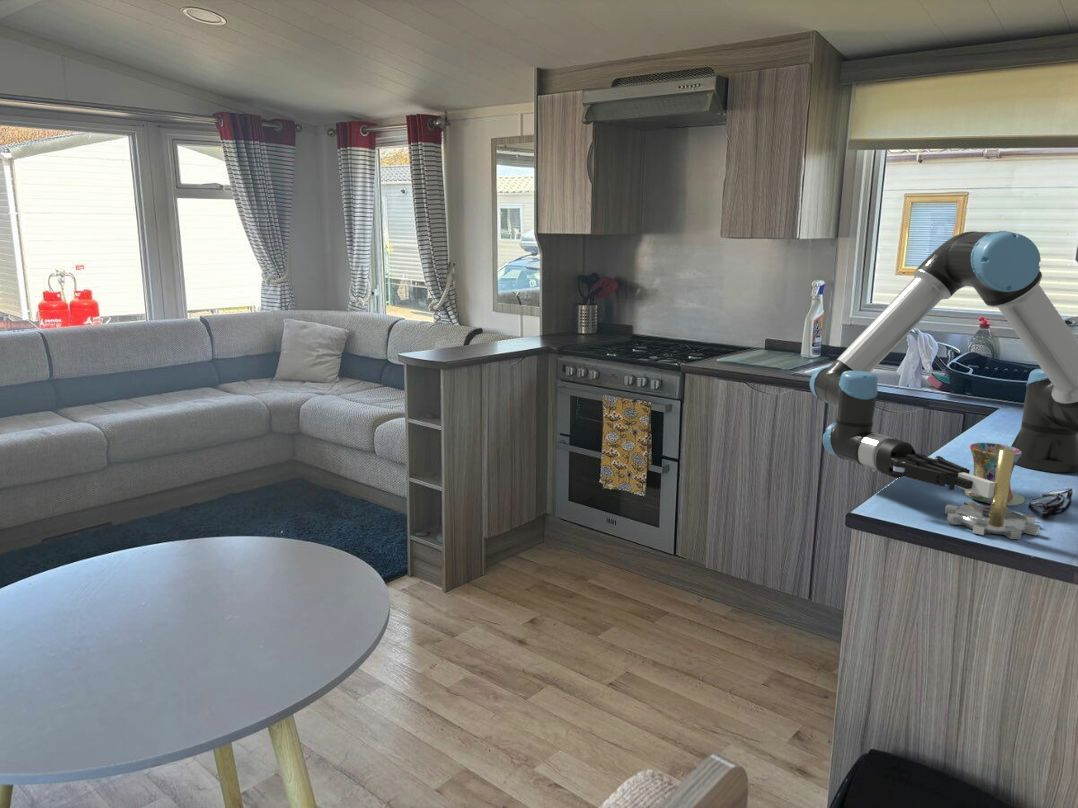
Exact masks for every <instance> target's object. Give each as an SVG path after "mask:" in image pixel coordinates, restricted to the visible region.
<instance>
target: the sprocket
mask: <svg viewBox="0 0 1078 808" xmlns="http://www.w3.org/2000/svg"><path fill="white" fill-rule="evenodd" d="M1014 452H1015V451H1013V450H1010V449H999V454H998V461H997V467H996V474H995V481H994V482H996V483H995V489H994V496H993V497H992V501H991V503H990V505H982V504H977V503H976V502H974V501H964V502H963V505H960V506H957V505H954V504H947V505H946V506H945V507H944V509H945V510H944V514H945V515H947V518H946V522H948V523H949V524H951V525H952V526H953V525H958V526H960V525H961V526H964V527H966V528H968V529H972V533H974V534H977V535H980V536H984V535H986V533H987V534H993V535H1000V536H1005V537H1006V538H1009V540H1015V539H1016V540H1021V538H1022V534H1029V535H1033V536H1038V534H1039V533H1040V530H1041V529H1040V528H1041V525H1040V524H1036V523H1035V522H1036V521H1035V520H1036V517H1035V516H1033V515H1031V514H1029V513H1028V514H1027V513H1024V514H1023V513H1018V512H1015V511H1013V510H1009V506H1008V505H1007V498H1008V491H1009V485H1010V486H1011V480H1010V478H1012V474H1011V472H1012V473H1013V471H1012V465H1013V459H1014Z"/></svg>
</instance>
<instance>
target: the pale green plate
mask: <svg viewBox="0 0 1078 808" xmlns="http://www.w3.org/2000/svg"><path fill="white" fill-rule="evenodd" d="M963 493H964V495H966V496H967V497H969V498H970V499H973V500H976V501H979V502H982V503H987V504H991V502H988V501H983V500H979V499H976V498H974V497H972V496H970V495H969V494H967V492H966V490H964V489H963ZM1011 493H1012V495H1013V499H1012V500H1010V501H1008V502H1007V505H1006V506H1020V505H1022V504H1024V503H1025V500H1026V499H1025V497H1024V496H1022V495H1021V494H1020V493H1016V492H1014V491H1012V490H1011Z"/></svg>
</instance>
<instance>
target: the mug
mask: <svg viewBox="0 0 1078 808" xmlns="http://www.w3.org/2000/svg"><path fill="white" fill-rule="evenodd" d="M969 448H970V451H971V454H972V460H973V472H972V475H974V476H977V477H980V478H983V479H986V480H989V481H992V482H994V481H995V474H996V467H997V461H998V454H999V449H1010V450H1013V451H1015V452H1014V459H1013V465H1012V472H1011V475H1012V474H1013V471H1014V468H1015V466H1016V465H1017V464H1016V462H1017V460H1018V459H1019V457H1020V456H1021V455H1022V451H1021V450H1019V449H1017V448H1014V447H1011V445H1006V444H1002V443H1001V444H1000V443H995V442H974V443H971V444H970V445H969ZM1011 478H1012V477H1011ZM1011 478H1010V481H1011ZM1011 491H1012V488H1011V484H1010V485H1009V491H1008V498H1007V502H1008V501H1010V500H1012V499H1013V495H1012V493H1011ZM966 492H967V494H969V495H970V496H972V497H974V498H976V499H979V500H983V501H988V502H991V501H992V497H989V498H987V497H984V496H981V495H979V494H976V493H973V492H970V491H967V490H966Z"/></svg>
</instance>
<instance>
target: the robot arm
mask: <svg viewBox="0 0 1078 808" xmlns="http://www.w3.org/2000/svg"><path fill="white" fill-rule="evenodd" d="M1041 259H1042V258H1041V253H1040V251H1039V249H1038V247H1037V245H1036V244H1035V242H1034V241H1032V240H1031V238H1029V237H1027V236H1025V235H1023V234H1022V233H1021V234H1020V233H1016V232H1011V231H1006V230H999V231H966V232H962V233H959V234H956V235H953V236H952V237H951V238H949V239H947V240H946V241H945V242H943V243H942V244H941V245H940V246H939V247H937V248H936V249H935V250H934V251H933V252H932V253H931V254H930V255H928V257H926V258H925V260H924V261H922V263H921V264H919V266H918V267H917V268H916V269H915V270H914V271H913V279H912V280H911V281H910V282H909V283H908V284H907V285H906V286H905V287H904V288H903V289H902V290H901V291H900V292H899V293H898V294H897V296H895V298H893V300H891V302H889V304H888V305H887V306H886V307H885V308H884V309H883V310H882V311H881V312H880V313H879V314H878V315H877V317H876V318H875V319H874V320H872V322H871V323H870V324H869V325H868V326H866V328H865V329H864V330H863V331H862V332H861V333H860V334H859V336H857V337H856V339H854V340H853V342H851V344H850V345H848V347H847V348H846V349H845V350H844V351H843V352H842V353H841V354H840V355H839V356H838V357H837V358H836V359H835V361H834V362H833V363H831V365H830V366H829V367H822V368H819V369H817V370H815V371H814V372H813V374H812V375H811V378H810V379H809V389H810V391H811V393H812V394H813V396H815V397H816V398H817V399H819V400H820V401H821V402H823V403H827V404H828V405H830V406H832V407H834V408H836V418H835V419H836V420H835V422H834V421H833V422H832V423H831V424H829V425H828V426H827V427H826V429H825V432H824V433H823V435H822V444H823V447H824V449H825V450H826V452H827V453H828V454H830V455H833V456H835V457H837V458H839V459H840V460H843V461H848V462H850V463H853V464H857V465H860V466H862V467H865V468H869V469H871V470H872V471H871V472H873V473H876V472H879V473H882V474H883V475H886V476H890V477H893V478H900V479H901V478H902V477H905V478H909V479H913V480H916V481H920V482H924V483H927V484H930V485H934V486H938V487H946V486H948V490H949V491H955V487H956V488H959V489H960V490H963V491H964V490H967V491H970V492H973V493H976V494H979V495H981V496H984V497H987V498H989V497H993V496H994V489H995V483H996V482H992V481H989V480H986V479H983V478H980V477H977V476H974V475H973V474H970V471H971V470H970V469H968V468H967V467H963V466H962V465H958V464H956V463H954V462H951V461H949V460H947V459H945V458H944V457H943V456H941V455H940V456H939V455H936V456H935V458H932V457H929V456H926V455H925V454H923V453H917V452H916V450H915V449H914V447H913V445H912V444H911V443H910V442H906V441H904V440H900V439H897V438H894V437H892V436H888V435H884V434H881V433H878V432H873V428H874V419H875V412H876V411H875V410H876V406H877V405H876V404H877V399H878V398H877V397H878V394H879V393H878V391H879V390H878V381H879V379H878V376H877V375H876V374H875V373H873V370H874V369H875V368H876V367H877V366H878V365H879V364H880V363H881V362H883V360H884V359H885V358H886V357H887V356H888V355H890V353H891V352H892V351H893V350H894V349H895V348H896V346H898V345H899V344H900V343H901V342H902V341H903V339H905V337H906V336H907V335H908V334H910V332H912V330H913V329H915V327H916V326H918V324H919V323H920V322H921V321H922V320H923V319H924V318H925V317H926V316H927V315H928V314H929V313H930V312H931V311H932V310H933V309H934V308H935V307H936V306H937V305H938V304H939V303H940V302H941V301H942V300H949V299H950V298H951V297H952V296H953V295H954V294H955V293H956V292H957V291H959V290H961V289H962V288H964V287H972V288H973V289H975V291H976V292H977V294H978V295H979V296H980V298H981V300H982V301H983V303H984V304H985V305H986V306H987V307H992V308H998V310H999V312H1001V314H1002V315H1003V316H1004V318H1005V319H1006V321H1007V322H1008V324H1009V325H1010V326H1011V328H1012V330H1013V331H1014V332H1015V334H1016V335H1017V336H1018V337H1019V339H1020V341H1021V342H1022V343H1023V345H1024V346H1025V348H1026V349H1027V350H1028V352H1029V353H1030V355H1031V356H1032V357H1033V359H1034V360H1035V362H1036V363H1037V365H1038V366H1039V367H1040V368H1036V369H1033V370H1031V371H1030V373H1029V375H1028V378H1027V382H1026V383H1025V385H1026V389H1025V390H1026V391H1025V398H1024V402H1023V403H1024V404H1023V410H1022V416H1021V417H1022V418H1021V424H1020V429H1019V431H1018V433H1017V434H1016V436H1015V438H1014V440H1013V442H1012V444H1011V445H1010V446H1011V447H1014V448H1017V449H1019V450H1021V451H1022V455H1021V456H1020V457H1019V459H1018V460H1017V462H1016V464H1015V465H1018V466H1021V467H1024V468H1027V469H1031V470H1036V471H1037V470H1038V471H1043V472H1050V473H1062V474H1063V473H1069V474H1071V473H1077V472H1078V339H1077V337H1076V336H1075V334H1073V332H1072V330H1071V329H1070V328H1069V325H1067V323H1066V321H1065V320H1064V319H1063V317H1062V316H1061V314H1060V313H1059V312H1058V310H1057V309H1056V307H1055V306H1054V304H1053V303H1052V302H1051V299H1050V298H1049V296H1047V294H1046V292H1045V291H1044V289H1043V288H1042V287H1041V285H1040V283H1041V281H1042V279H1043V272H1042V271H1041V270H1040V269H1041V266H1040V262H1042V261H1041Z"/></svg>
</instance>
